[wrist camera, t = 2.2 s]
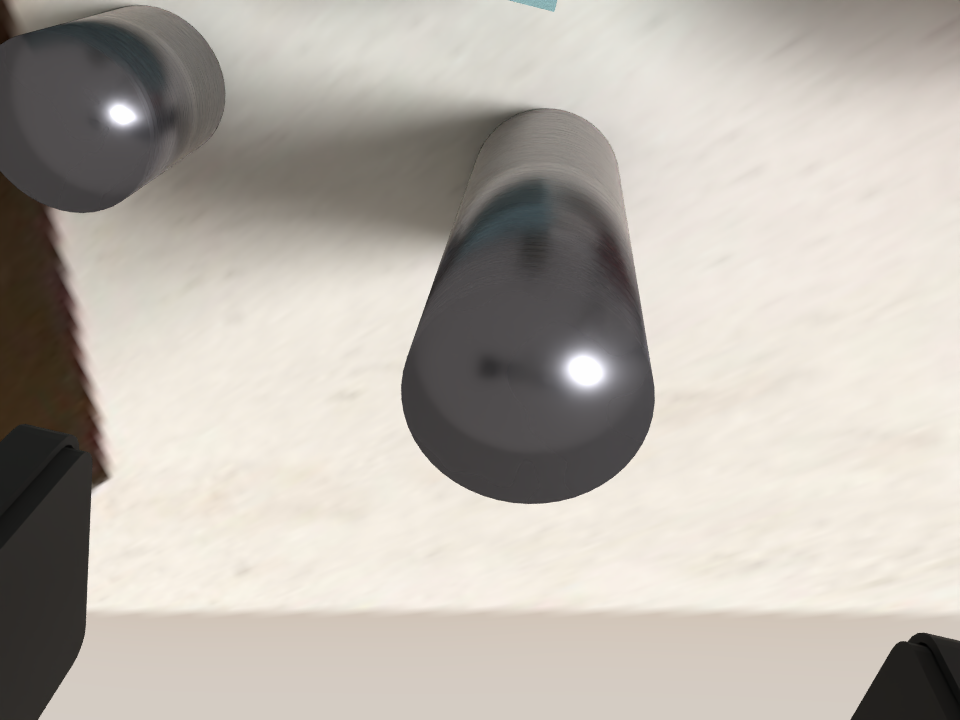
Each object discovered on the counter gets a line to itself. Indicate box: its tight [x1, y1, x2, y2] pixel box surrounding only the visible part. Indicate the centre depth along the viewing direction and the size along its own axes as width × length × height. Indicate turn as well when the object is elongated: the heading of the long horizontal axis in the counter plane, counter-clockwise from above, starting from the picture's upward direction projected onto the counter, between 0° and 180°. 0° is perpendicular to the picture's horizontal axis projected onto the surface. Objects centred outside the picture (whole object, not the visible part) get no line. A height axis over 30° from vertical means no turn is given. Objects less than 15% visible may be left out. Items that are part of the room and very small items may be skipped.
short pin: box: [0, 5, 225, 213], centre depth 23 cm, size 4×4×5 cm
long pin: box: [401, 109, 655, 504], centre depth 20 cm, size 4×4×12 cm
